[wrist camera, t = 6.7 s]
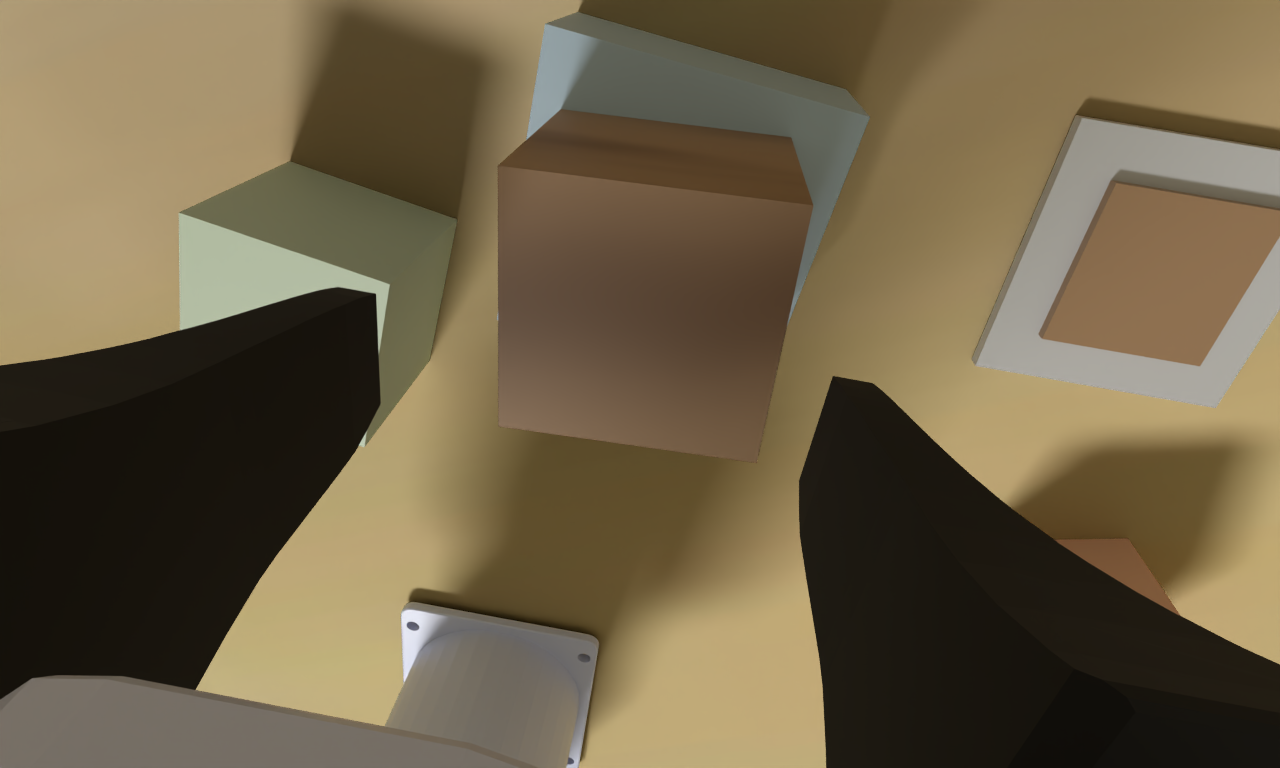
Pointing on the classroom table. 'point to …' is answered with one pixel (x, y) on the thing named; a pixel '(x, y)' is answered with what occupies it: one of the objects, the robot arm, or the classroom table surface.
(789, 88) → the base block
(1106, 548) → the terracotta cube
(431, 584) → the classroom table surface
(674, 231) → the walnut cube
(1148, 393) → the grey square frame
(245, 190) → the sage cube
